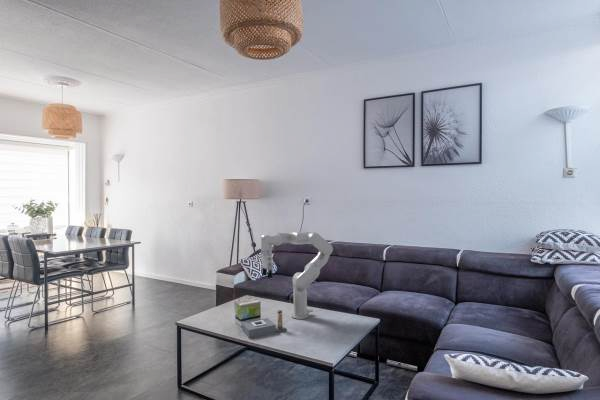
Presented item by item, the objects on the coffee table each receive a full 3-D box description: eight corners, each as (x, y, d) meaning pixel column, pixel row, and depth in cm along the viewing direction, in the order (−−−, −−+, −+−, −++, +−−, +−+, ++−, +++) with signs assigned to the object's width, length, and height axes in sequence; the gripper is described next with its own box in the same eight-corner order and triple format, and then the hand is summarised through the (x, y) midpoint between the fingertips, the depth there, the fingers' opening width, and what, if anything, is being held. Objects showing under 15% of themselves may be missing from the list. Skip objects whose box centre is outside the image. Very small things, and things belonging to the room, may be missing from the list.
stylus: (281, 328, 234) (281, 309, 234) (283, 329, 232) (282, 311, 231) (277, 329, 233) (276, 310, 233) (279, 330, 230) (278, 312, 230)
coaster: (283, 327, 238) (283, 326, 238) (288, 331, 230) (288, 330, 230) (272, 329, 234) (272, 328, 234) (277, 333, 227) (277, 332, 227)
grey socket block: (267, 325, 241) (267, 317, 241) (275, 332, 229) (275, 323, 229) (242, 330, 233) (241, 322, 233) (248, 338, 221) (248, 329, 221)
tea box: (241, 327, 239) (240, 305, 239) (235, 323, 248) (234, 301, 247) (261, 322, 248) (260, 301, 247) (254, 318, 256) (254, 297, 256)
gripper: (276, 253, 247) (277, 278, 248) (266, 250, 263) (267, 273, 263) (266, 254, 244) (267, 279, 244) (257, 251, 259) (257, 274, 259)
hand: (267, 276), depth 254 cm, fingers open, 9 cm apart
